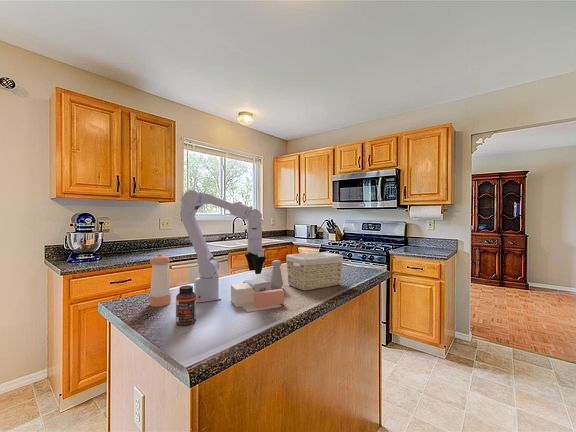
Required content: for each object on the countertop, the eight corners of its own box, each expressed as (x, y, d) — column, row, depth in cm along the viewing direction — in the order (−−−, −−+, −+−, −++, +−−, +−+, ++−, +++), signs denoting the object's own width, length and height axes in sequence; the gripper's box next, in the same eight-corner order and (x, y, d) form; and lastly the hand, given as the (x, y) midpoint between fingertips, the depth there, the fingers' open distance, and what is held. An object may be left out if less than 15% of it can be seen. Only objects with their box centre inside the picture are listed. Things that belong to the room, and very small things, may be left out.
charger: (253, 285, 133) (271, 292, 121) (236, 288, 127) (253, 296, 115) (253, 275, 133) (271, 281, 121) (236, 278, 127) (253, 284, 115)
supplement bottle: (176, 327, 82) (175, 290, 82) (175, 320, 88) (175, 285, 88) (197, 324, 85) (196, 288, 85) (195, 317, 90) (195, 283, 90)
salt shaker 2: (273, 291, 121) (273, 261, 121) (268, 288, 126) (268, 259, 126) (285, 289, 124) (285, 260, 124) (279, 286, 129) (279, 258, 129)
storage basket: (323, 278, 145) (323, 250, 144) (345, 285, 131) (344, 254, 131) (284, 285, 132) (284, 254, 132) (303, 293, 118) (303, 259, 118)
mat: (247, 312, 95) (247, 311, 95) (242, 307, 100) (242, 306, 100) (281, 306, 101) (281, 305, 101) (275, 302, 106) (275, 301, 106)
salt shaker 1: (164, 299, 110) (163, 251, 110) (174, 302, 106) (174, 253, 106) (145, 304, 104) (145, 254, 104) (156, 308, 100) (155, 255, 100)
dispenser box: (236, 307, 100) (236, 289, 100) (230, 300, 108) (230, 284, 108) (254, 304, 104) (254, 287, 103) (248, 298, 111) (248, 282, 111)
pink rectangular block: (256, 308, 98) (256, 294, 98) (253, 305, 101) (253, 292, 100) (284, 303, 103) (283, 290, 103) (281, 301, 105) (281, 288, 105)
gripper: (270, 239, 107) (270, 274, 107) (258, 237, 120) (258, 268, 120) (253, 240, 104) (253, 276, 104) (242, 237, 117) (242, 269, 117)
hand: (255, 272), depth 112 cm, fingers open, 7 cm apart
